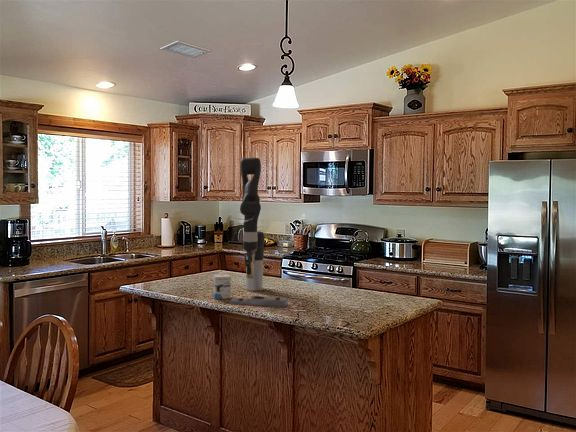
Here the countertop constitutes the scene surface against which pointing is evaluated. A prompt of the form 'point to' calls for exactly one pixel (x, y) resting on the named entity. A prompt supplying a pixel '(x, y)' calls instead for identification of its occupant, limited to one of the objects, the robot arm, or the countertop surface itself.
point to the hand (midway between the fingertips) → (249, 273)
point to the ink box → (222, 287)
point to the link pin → (251, 271)
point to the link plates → (261, 301)
